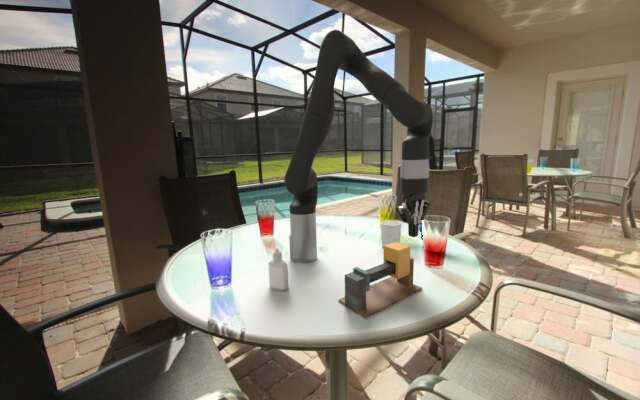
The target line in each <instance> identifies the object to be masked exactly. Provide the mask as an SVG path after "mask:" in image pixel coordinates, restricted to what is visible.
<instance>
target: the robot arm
mask: <svg viewBox="0 0 640 400" xmlns="http://www.w3.org/2000/svg"><path fill="white" fill-rule="evenodd" d="M339 70H341V71H343V72H345V73H346V74H348V75H350V76H352V77H354V78H355V79H356V80H357V81H359V83H361V84H362V86H363V87H364V88H365V89H366V91H367V92H368V93H369V94H370V95H371V96H372V97H373V98H375V100H377V101H378V102H379V103H380V105H383V107H385V108H386V109H387V110H388V111H389V112H390V114H391V115H392V116H393V118H394V119H395V120H396V121H397V122H398V123H400V125H402V126H404V127H405V128H407V131H406V138H404V139H403V140H402V143H401V162H400V169H399V170H400V176H399V177H400V179H399V181H400V184H399V185H400V186H399V187H400V188H399V189H400V191H399V192H400V194H401V193H402V201H401V202H402V204H401V205H400V206H397V207H396V213H398V215H399V217H400V219H401V220H402V223H407V225H408V229H407V230H408V232H407V233H408V237H412V238H416V237H418V236H419V226H420V225H419V224H421V223H420V221H421V220H424V219H425V218H426V215H427V212H428V210H429V208H430V206H431V202H430V201H427V200H426V194H428V193H429V189H430V188H429V186H430V179H429V178H430V164H429V150H430V149H429V147H430V145H429V141H430V138H431V134H432V130H433V129H432V127H433V123H434V114H433V109H432V107H431V105H430V104H429V103H427V102H424V101H421V100H418V99H417V98H415V97H414V96H413V95H411V94H410V93H409V92H408V91H407V90H406V88H405V86H403V84H401V83H400V82H399V81H398V80H396V79H395V78H394V77H393V76H392V75H390V74H389V73H388V72H386V71H385V70H384V69H382V68H380V67H379V66H377V65H376V64H374V63H373V62H372V61H371V60H370V59H369V58H368V57H367V56H366V55H365V54H364V52H363V51H362V50H361V48H360V47H359V46H358V45H357V44H356V42H355V41H354V40H353V39H352V38H351V37H349V35H347V34H346V33H344V32H343V31H341V30H339V29H332V30H330V31H329V32H328V33H326V35H325V36H324V37H323V40H322V41H321V44H320V47H319V51H318V58H317V62H316V69H315V73H314V78H313V79H314V80H313V83H312V86H311V90H310V95H309V98H308V101H307V104H306V108H305V111H304V115H303V118H302V121H301V122H302V123H301V126H300V131H299V133H298V137H297V141H296V145H295V148H294V151H293V154H292V157H291V160H290V161H289V164H288V167H287V170H286V172H285V175H284V186H285V189H286V191H287V192H288V193H290V194H291V195H293V199H292V201H291V202H290V204H289V224H290V225H289V227H290V233H289V234H288V236H289V237H288V238H289V239H288V242H289V260H290V261H293V262H296V263H310V262H313V261H315V260H317V259H318V246H317V239H318V238H317V214H316V213H317V211H316V209H317V204H318V188H319V187H318V185H319V184H318V183H319V182H318V175H317V173H316V171H315V170H314V169H313V168H312V167H313V163H314V160H315V158H316V155H317V154H318V152H319V150H320V149H321V148H322V145H323V144H324V142H326V139H327V138H328V135H329V134H330V133H329V132H330V131H331V127H332V124H333V120H334V117H335V110H336V109H335V108H336V107H335V82H336V78H337V74H338V71H339Z"/></svg>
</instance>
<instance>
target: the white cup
mask: <svg viewBox="0 0 640 400" xmlns="http://www.w3.org/2000/svg"><path fill="white" fill-rule="evenodd" d="M402 223H403V222H401V221H398V220H395V219H394V220H392V219H388V220H383V221H380V237H381V248H382V249H384V246H385V245H388V244H391V243H394V242H397V243H400V244H401V234H402Z"/></svg>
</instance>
